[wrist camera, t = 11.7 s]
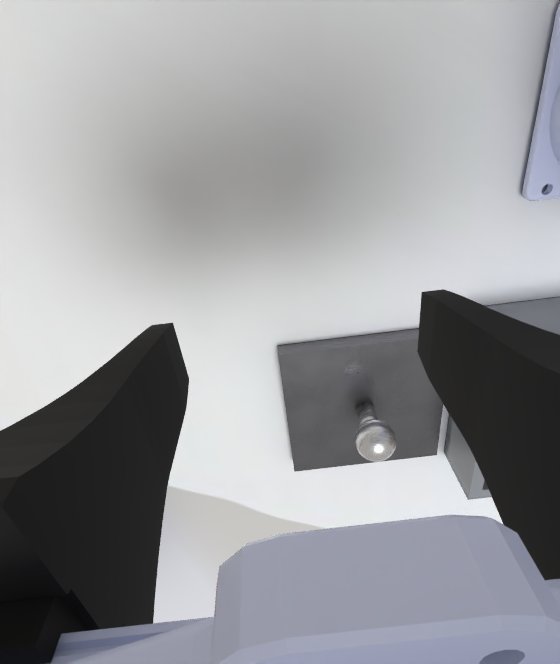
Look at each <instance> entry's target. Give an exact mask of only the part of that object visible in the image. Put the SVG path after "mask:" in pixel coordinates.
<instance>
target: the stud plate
mask: <svg viewBox="0 0 560 664" xmlns="http://www.w3.org/2000/svg"><path fill="white" fill-rule="evenodd" d="M418 337H419V329H411V330H403V331H395V332H387V333H378V334H370V335H362V336H354V337H345V338H337V339H329V340H321V341H312V342H304V343H296V344H288V345H279V346H278V356H279V363H280V370H281V377H282V384H283V391H284V399H285V406H286V413H287V420H288V427H289V434H290V442H291V449H292V456H293V463H294V470H295V471H302V470H311V469H320V468H328V467H337V466H346V465H354V464H363V463H371V462H380V461H389V460H397V459H406V458H415V457H423V456H432V455H437V448H438V440H439V432H440V424H441V416H442V408H443V402H442V401H441V399H440V397H439V396H438V394H437V392H436V391H435V389H434V387H433V386H432V384H431V382H430V380H429V379H428V376H427V374H426V372H425V369H424V367H423V364H422V362H421V359H420V357H419V354H418V352H417V350H418Z"/></svg>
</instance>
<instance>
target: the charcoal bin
mask: <svg viewBox="0 0 560 664" xmlns="http://www.w3.org/2000/svg"><path fill="white" fill-rule="evenodd" d="M486 307H488V308H490V309H493V310H495V311H497V312H500V313H502V314H504V315H507V316H509V317H512V318H514V319H517V320H519V321H522V322H525V323H527V324H530V325H533V326H535V327H538V328H541V329H544V330H547V331H550V332H553V333H556V334H559V335H560V297H555V298H547V299H539V300H531V301H522V302H514V303H506V304H498V305H489V306H486ZM444 453H445V455H446V457H447V459H448V461H449V463H450V465H451V467H452V469H453V471H454V473H455V475H456V477H457V479H458V481H459V483H460V485H461V487H462V489H463V491H464V493H465V495H466V497H467V499H468V500H469V499H477V498H486V497H492V496H491V493H490V491H489V489H488V486H487V484H486V482H485V480H484V478H483V475H482V473H481V471H480V469H479V467H478V464H477V462H476V460H475V458H474V456H473V454H472V452H471V450H470V448H469V446H468V444H467V442H466V441H465V439H464V437H463V435H462V434H461V432H460V430H459V429H458V427H457V426H456V424H455V422H454V421H453V419H452V417H451V416H450V414H449V419H448V427H447V434H446V441H445V448H444Z"/></svg>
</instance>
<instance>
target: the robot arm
mask: <svg viewBox="0 0 560 664" xmlns="http://www.w3.org/2000/svg"><path fill="white" fill-rule="evenodd" d="M546 184H548V187H547V190H546V191H545V192H543V193H542V188H543V187H544V186H545V185H546ZM523 196H524V197H525V198H526V199H528V200H530V201H536V200H544V199H552V198H560V5H559V6H558V9H557V12H556V17H555V22H554V27H553V33H552V38H551V43H550V48H549V54H548V59H547V64H546V69H545V75H544V80H543V85H542V90H541V96H540V101H539V106H538V111H537V117H536V122H535V127H534V132H533V138H532V143H531V148H530V154H529V159H528V164H527V169H526V175H525V180H524V185H523ZM417 352H418V354H419V357H420V359H421V362H422V364H423V367H424V369H425V372H426V374H427V376H428V379H429V380H430V382H431V384H432V386H433V387H434V389H435V391H436V392H437V394H438V396H439V397H440V399H441V401H442V402H443V404H444V406H445V407H446V409H447V411H448V412H449V414H450V416H451V417H452V419H453V421H454V422H455V424H456V426H457V427H458V429H459V430H460V432H461V434H462V435H463V437H464V439H465V441H466V442H467V444H468V446H469V448H470V450H471V452H472V454H473V456H474V458H475V460H476V462H477V464H478V467H479V469H480V471H481V473H482V475H483V478H484V480H485V482H486V484H487V486H488V489H489V491H490V493H491V496H492V498H493V500H494V503H495V505H496V507H497V510H498V512H499V514H500V517H501V519H502V522H503V524H504V525H503V524H501V523H499V522H498V521H496V520H494V519H492V518H488V517H483V516H465V515H444V516H436V517H427V518H418V519H409V520H400V521H392V522H383V523H374V524H365V525H356V526H347V527H339V528H330V529H321V530H313V531H303V532H295V533H287V534H279V535H276V536H272V537H269V538H265V539H262V540H258V541H255V542H251V543H247V544H246V545H245V546H244V547H242V548H241V549H240V550H239V551H238V552H236V553H235V554H234V555H233V556H232V557H230V558H229V559H228V560H227V561H225V562H224V563H223V564H222V565H221V566H219V573H218V582H217V589H216V590H217V591H216V601H215V602H216V603H215V615H214V617H208V618H199V619H190V620H181V621H172V622H163V623H154V624H153V615H154V600H155V588H156V578H157V566H158V556H159V546H160V538H161V529H162V520H163V513H164V505H165V498H166V491H167V485H168V480H169V475H170V471H171V467H172V463H173V459H174V455H175V451H176V447H177V443H178V439H179V435H180V431H181V427H182V423H183V419H184V415H185V411H186V405H187V396H188V385H189V377H188V374H187V370H186V367H185V363H184V360H183V357H182V353H181V350H180V346H179V343H178V339H177V336H176V332H175V329H174V325H173V323H167V324H159V325H152V326H150V327H149V328H147V329H146V330H145V331H144V332H142V333H141V334H140V335H139V336H137V337H136V338H135V339H134V340H133V341H132V342H131V343H129V344H128V345H127V346H126V347H125V348H124V349H122V350H121V351H120V352H119V353H118V354H117V355H115V356H114V357H113V358H112V359H111V360H109V361H108V362H107V363H106V364H104V365H103V366H102V367H101V368H99V369H98V370H97V371H95V372H94V373H93V374H92V375H90V376H89V377H88V378H87V379H85V380H84V381H83V382H81V383H80V384H79V385H77V386H76V387H74V388H73V389H71V390H70V391H68V392H67V393H66V394H64V395H62V396H61V397H59V398H58V399H56V400H55V401H53V402H52V403H50V404H48V405H47V406H45V407H43V408H42V409H40V410H38V411H36V412H34V413H33V414H31V415H29V416H27V417H25V418H24V419H22V420H20V421H18V422H16V423H15V424H13V425H11V426H9V427H7V428H5V429H3V430H1V431H0V664H560V335H559V334H556V333H553V332H550V331H547V330H544V329H541V328H538V327H535V326H533V325H530V324H527V323H525V322H522V321H519V320H517V319H514V318H512V317H509V316H507V315H504V314H502V313H500V312H497V311H495V310H493V309H490V308H488V307H486V306H483V305H481V304H479V303H476V302H474V301H472V300H470V299H467V298H465V297H463V296H460V295H458V294H455V293H453V292H450V291H447V290H436V291H427V292H422V297H421V311H420V324H419V337H418V350H417Z"/></svg>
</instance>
